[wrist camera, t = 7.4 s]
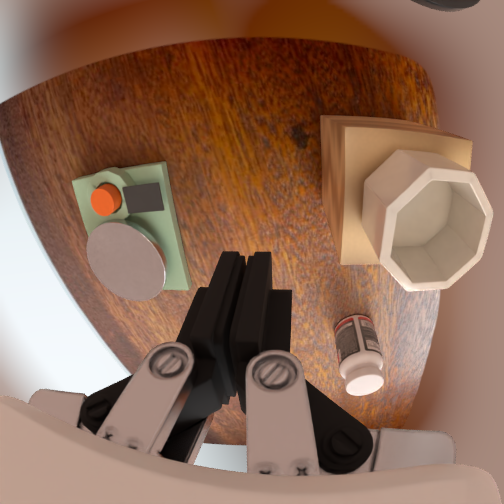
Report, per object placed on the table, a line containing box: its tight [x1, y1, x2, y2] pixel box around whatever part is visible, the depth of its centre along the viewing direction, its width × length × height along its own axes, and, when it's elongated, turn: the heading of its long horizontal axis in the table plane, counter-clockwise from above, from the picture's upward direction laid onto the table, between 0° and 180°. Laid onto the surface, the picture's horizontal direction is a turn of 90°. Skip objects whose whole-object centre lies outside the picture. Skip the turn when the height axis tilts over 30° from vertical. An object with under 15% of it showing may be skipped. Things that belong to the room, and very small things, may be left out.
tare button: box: [91, 183, 122, 216], centre depth 27 cm, size 3×3×2 cm
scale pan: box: [87, 182, 168, 301], centre depth 30 cm, size 14×12×1 cm
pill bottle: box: [335, 315, 384, 396], centre depth 33 cm, size 6×6×10 cm
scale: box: [72, 161, 192, 290], centre depth 32 cm, size 16×13×3 cm
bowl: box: [361, 149, 493, 291], centre depth 14 cm, size 7×7×4 cm
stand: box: [320, 115, 472, 265], centre depth 21 cm, size 9×9×12 cm
